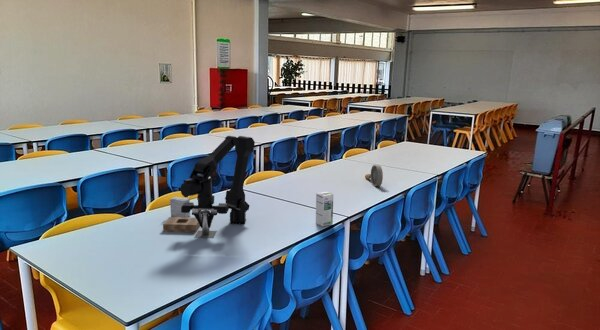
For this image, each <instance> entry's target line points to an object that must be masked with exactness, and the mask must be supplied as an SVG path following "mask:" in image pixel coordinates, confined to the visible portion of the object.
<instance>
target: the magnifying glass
mask: <svg viewBox="0 0 600 330" xmlns="http://www.w3.org/2000/svg"><path fill="white" fill-rule="evenodd" d="M383 173H384V172H383V168H382V167H381V165H380V164H373V165H371V169H370V173H368V174H365V175H364V178H365V179H367V180H369V179H370V181H371V185H372V186H373V187H380V186H382V184H383V178H384V177H383V176H384V174H383Z"/></svg>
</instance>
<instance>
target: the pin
mask: <svg viewBox="0 0 600 330" xmlns="http://www.w3.org/2000/svg"><path fill="white" fill-rule="evenodd" d="M210 212H211V211H210V210H202V211H201V215H202V228H201V231H202V235H204V236H207V235H209V231H210V228H209V214H210Z"/></svg>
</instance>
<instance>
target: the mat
mask: <svg viewBox="0 0 600 330" xmlns="http://www.w3.org/2000/svg"><path fill="white" fill-rule="evenodd" d="M217 233H218V231H217V230H209V235H207V236H204V235H202V230H200V229H198V230H197V232H196V233H195V235H194V236H193V238H194V239H214V238H215V236H216V235H217Z"/></svg>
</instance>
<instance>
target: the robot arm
mask: <svg viewBox="0 0 600 330" xmlns="http://www.w3.org/2000/svg"><path fill="white" fill-rule="evenodd" d="M255 143H256V142H255V140H254V138H253V137H251V136H250V137H249V136H245V135H244V136H243V135H239V136H238V137H237V136H234V135H227V136H225V138H224V140H223V141H222V142H221V143H220V144H219V145H218V146H217V147H216V148H215V149H213V151H212V152H211V153H210V154H209V155H207V156H205V157H203V158H200V159H199V160H198V161H196V162H195V164H194V166H193V167H194V168H193V169H192V172H191V173H190V174H189V177H188V179H183V183H182V184H181V185H180V187H179V190H180V193H181V195H182V197H183V198H189V197H194V196H197V197H196V198H197V199H196V200H197V204H195V203H194V202H191V201H190V202H185V203H184V204H183V205H182V207H181V212H182V213H189V212H190V213H191V215H193V216H194V218H196V219H197V221H198V223H199V225H200V227H199V228H200V229H202V215H201V211H203V210H209V211H210V214H209V229H210V228H211V227H212V223H213V220H214V217H215V216H217V215H218V214H219V215H220V214H221V215H225V214H227V213H228V212H229V210H230V213H229V222H230V225H246V223H247V218H246V217H247V216H246V215H247V212H248V211H249V209H250V204H249V203H248V202H247V201H246V193H245V190H244V184H245V180H246V179H245V178H246V173H247V172H246V171H247V167H248V161H249V157H250V156H251V154H253V151H254V149H255V145H256V144H255ZM233 148H234V149H235V153H236V160H235V166H234V173H233V178H232V183H231V184H232V185H231V188H230V189H229V190H228V189H227V190H226V192H225V196H224V197H225V198H224V200H225V203H223V202H221V203H220V202H219V203H218V204H217V205H214V204H215V195H213V187H212V186H213V181H215V180H216V179H217V178H216V176H214V173H215V172H216V170H217V169H218V164H219V163H220V162H221V160H223V159H224V158H225V157H226V155H228V153H230V152H231V151H232V149H233Z"/></svg>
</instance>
